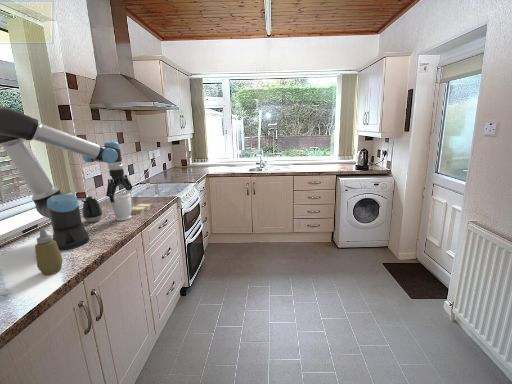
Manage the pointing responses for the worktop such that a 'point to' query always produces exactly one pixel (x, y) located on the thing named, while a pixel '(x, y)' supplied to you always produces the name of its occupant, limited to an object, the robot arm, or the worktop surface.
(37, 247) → the squeeze bottle
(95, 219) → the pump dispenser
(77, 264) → the worktop surface
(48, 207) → the robot arm
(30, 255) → the worktop surface
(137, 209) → the birch trivet
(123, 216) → the white cup
